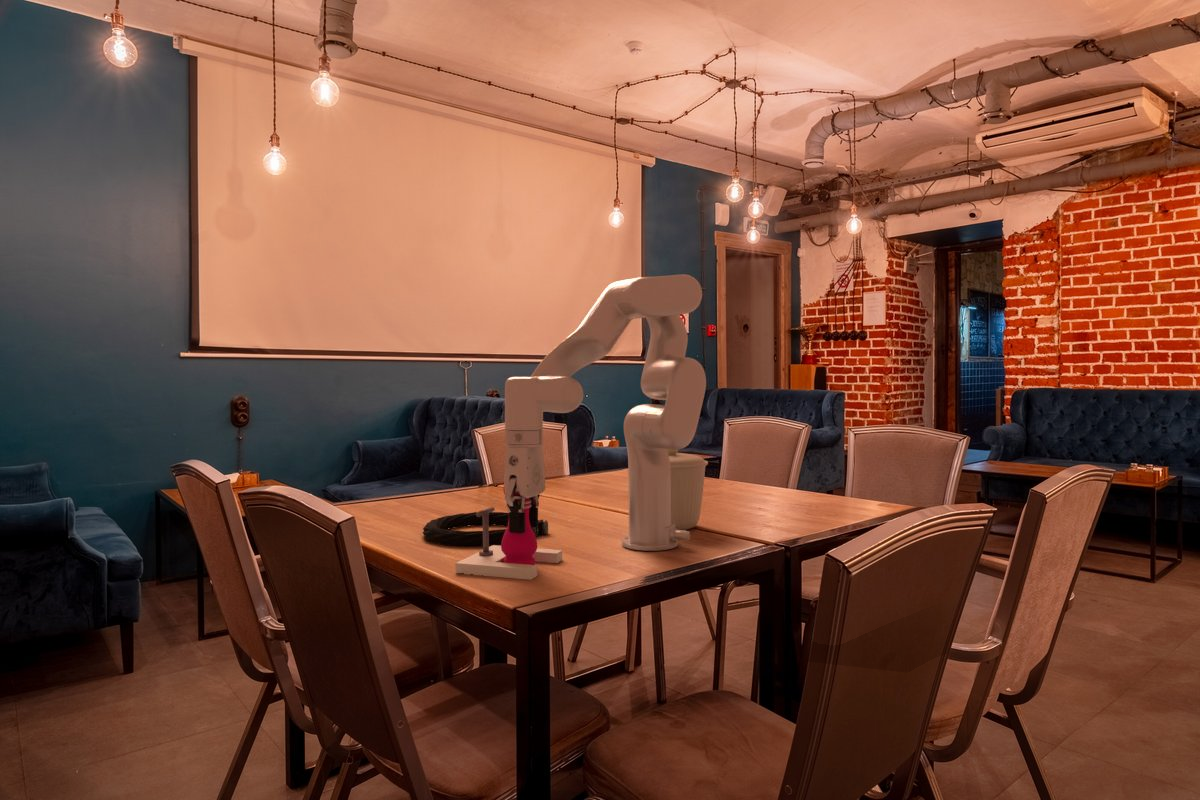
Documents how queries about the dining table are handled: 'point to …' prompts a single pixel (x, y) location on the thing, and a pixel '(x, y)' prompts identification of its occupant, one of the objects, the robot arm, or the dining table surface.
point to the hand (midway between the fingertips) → (523, 528)
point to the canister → (686, 488)
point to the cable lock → (439, 534)
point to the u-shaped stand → (502, 558)
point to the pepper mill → (520, 541)
